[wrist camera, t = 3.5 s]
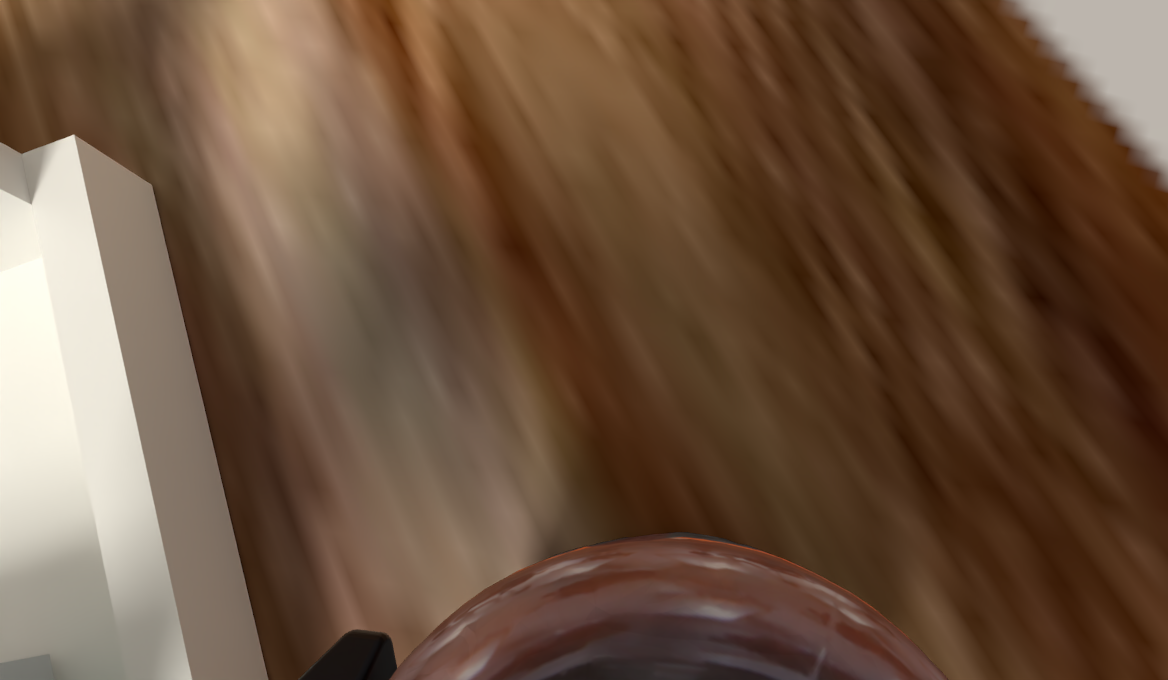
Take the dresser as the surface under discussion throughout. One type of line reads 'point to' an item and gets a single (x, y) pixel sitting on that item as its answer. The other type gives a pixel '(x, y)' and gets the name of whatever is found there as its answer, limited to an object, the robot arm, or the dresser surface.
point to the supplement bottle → (666, 621)
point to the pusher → (27, 669)
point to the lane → (106, 440)
